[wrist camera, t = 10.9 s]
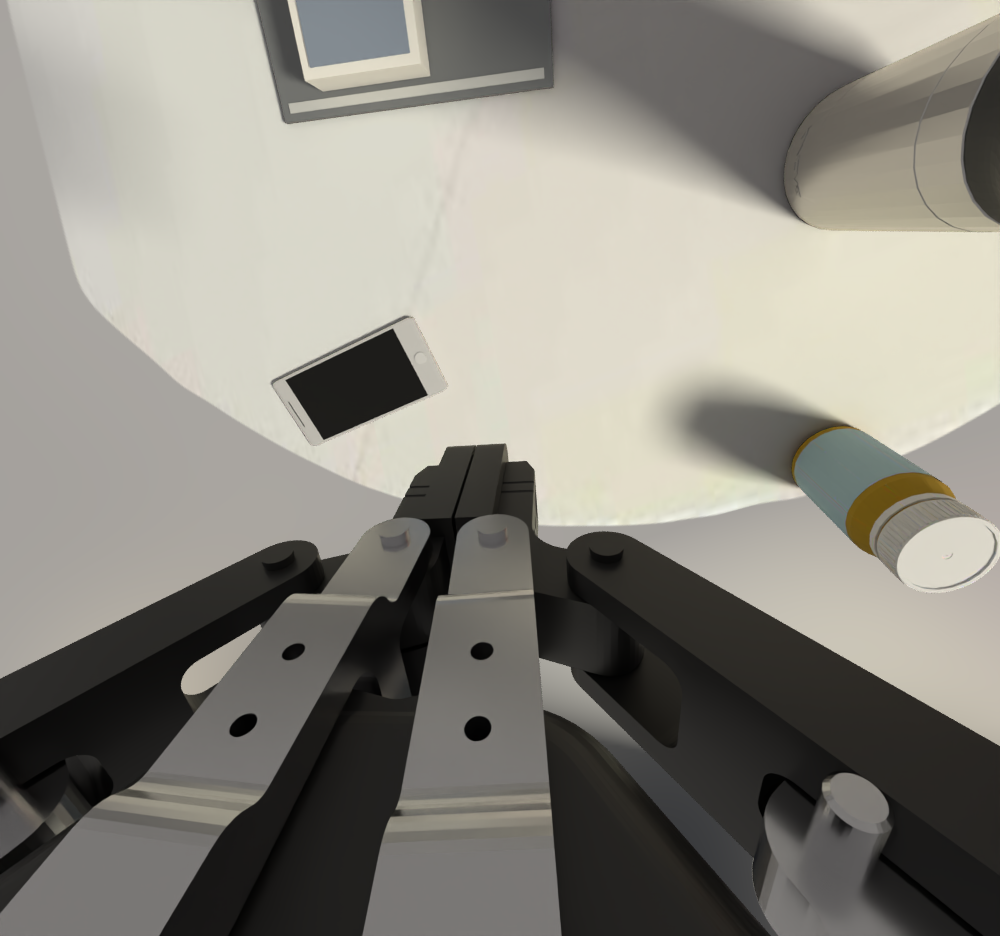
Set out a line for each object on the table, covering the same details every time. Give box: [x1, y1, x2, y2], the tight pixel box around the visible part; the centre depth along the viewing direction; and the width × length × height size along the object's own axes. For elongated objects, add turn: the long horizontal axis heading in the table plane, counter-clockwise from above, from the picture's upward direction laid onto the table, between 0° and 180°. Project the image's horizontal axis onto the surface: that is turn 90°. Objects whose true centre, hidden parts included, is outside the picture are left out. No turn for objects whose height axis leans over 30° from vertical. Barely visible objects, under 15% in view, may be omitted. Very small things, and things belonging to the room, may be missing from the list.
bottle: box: [791, 426, 1000, 593], centre depth 38 cm, size 7×7×15 cm
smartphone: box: [273, 317, 448, 446], centre depth 46 cm, size 7×15×1 cm, turn 115°
